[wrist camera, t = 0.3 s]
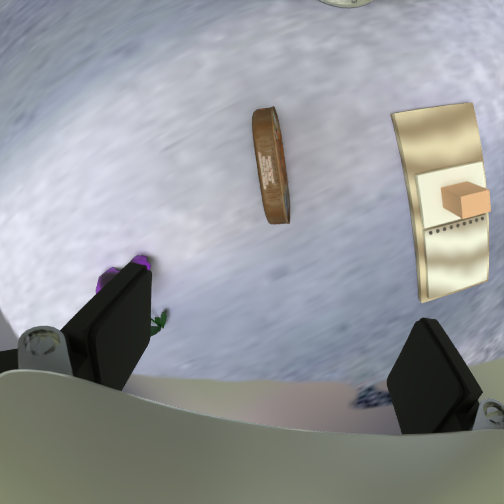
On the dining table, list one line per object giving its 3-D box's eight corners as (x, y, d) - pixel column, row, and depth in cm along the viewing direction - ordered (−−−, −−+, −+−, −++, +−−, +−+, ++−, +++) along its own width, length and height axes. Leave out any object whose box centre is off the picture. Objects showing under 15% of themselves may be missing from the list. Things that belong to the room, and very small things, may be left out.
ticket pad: (390, 114, 38) (396, 113, 36) (467, 102, 36) (476, 102, 33) (418, 298, 48) (423, 306, 46) (484, 277, 45) (491, 283, 43)
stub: (414, 174, 39) (435, 183, 33) (479, 160, 37) (505, 167, 31) (422, 226, 42) (442, 242, 35) (484, 209, 40) (508, 222, 33)
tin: (291, 214, 45) (293, 232, 37) (269, 216, 46) (266, 235, 38) (277, 108, 40) (276, 103, 32) (254, 111, 40) (247, 106, 33)
